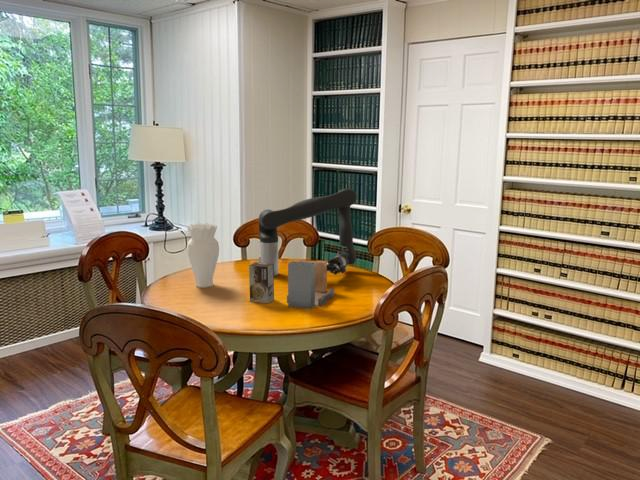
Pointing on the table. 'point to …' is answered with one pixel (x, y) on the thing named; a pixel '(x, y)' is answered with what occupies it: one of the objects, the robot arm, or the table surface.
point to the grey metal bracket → (304, 286)
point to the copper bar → (321, 276)
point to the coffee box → (261, 282)
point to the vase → (203, 252)
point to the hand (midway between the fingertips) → (326, 271)
